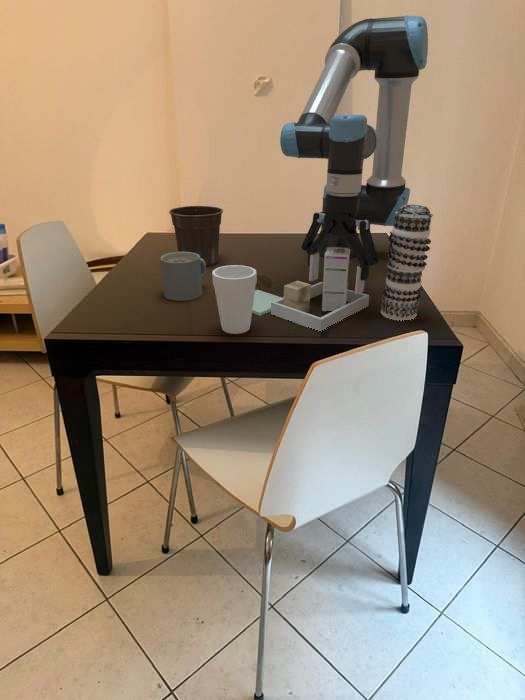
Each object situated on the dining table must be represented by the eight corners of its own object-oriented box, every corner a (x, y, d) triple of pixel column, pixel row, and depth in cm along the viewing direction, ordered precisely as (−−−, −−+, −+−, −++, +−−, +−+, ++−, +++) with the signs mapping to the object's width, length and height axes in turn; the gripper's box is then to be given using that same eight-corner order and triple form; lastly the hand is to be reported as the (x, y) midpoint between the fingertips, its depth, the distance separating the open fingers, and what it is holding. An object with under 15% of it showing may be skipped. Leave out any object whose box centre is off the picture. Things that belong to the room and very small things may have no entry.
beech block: (296, 307, 115) (297, 280, 112) (309, 311, 112) (310, 284, 109) (283, 313, 112) (283, 285, 108) (296, 318, 109) (297, 289, 106)
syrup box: (345, 313, 112) (350, 254, 105) (320, 311, 113) (324, 252, 106) (346, 304, 116) (351, 247, 110) (322, 302, 118) (326, 246, 111)
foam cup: (215, 319, 108) (212, 265, 102) (254, 318, 109) (254, 264, 103) (215, 337, 100) (212, 279, 94) (258, 336, 100) (257, 278, 94)
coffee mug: (177, 304, 116) (173, 265, 112) (157, 293, 123) (153, 256, 118) (220, 291, 124) (218, 255, 120) (199, 282, 131) (196, 247, 126)
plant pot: (191, 252, 158) (188, 203, 150) (233, 258, 152) (232, 207, 144) (163, 265, 145) (158, 212, 137) (207, 272, 139) (204, 217, 131)
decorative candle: (371, 314, 111) (384, 207, 99) (390, 303, 117) (404, 201, 105) (407, 325, 106) (425, 212, 94) (424, 313, 112) (444, 206, 100)
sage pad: (257, 292, 124) (257, 289, 123) (289, 303, 117) (289, 300, 117) (227, 303, 117) (227, 300, 116) (260, 315, 110) (260, 312, 110)
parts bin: (320, 292, 124) (321, 281, 123) (368, 306, 115) (369, 295, 114) (270, 314, 111) (270, 302, 110) (320, 332, 102) (321, 319, 101)
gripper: (288, 189, 107) (286, 278, 117) (384, 202, 92) (372, 303, 102) (308, 185, 112) (304, 271, 122) (402, 198, 97) (389, 294, 107)
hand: (335, 286), depth 112 cm, fingers open, 12 cm apart
